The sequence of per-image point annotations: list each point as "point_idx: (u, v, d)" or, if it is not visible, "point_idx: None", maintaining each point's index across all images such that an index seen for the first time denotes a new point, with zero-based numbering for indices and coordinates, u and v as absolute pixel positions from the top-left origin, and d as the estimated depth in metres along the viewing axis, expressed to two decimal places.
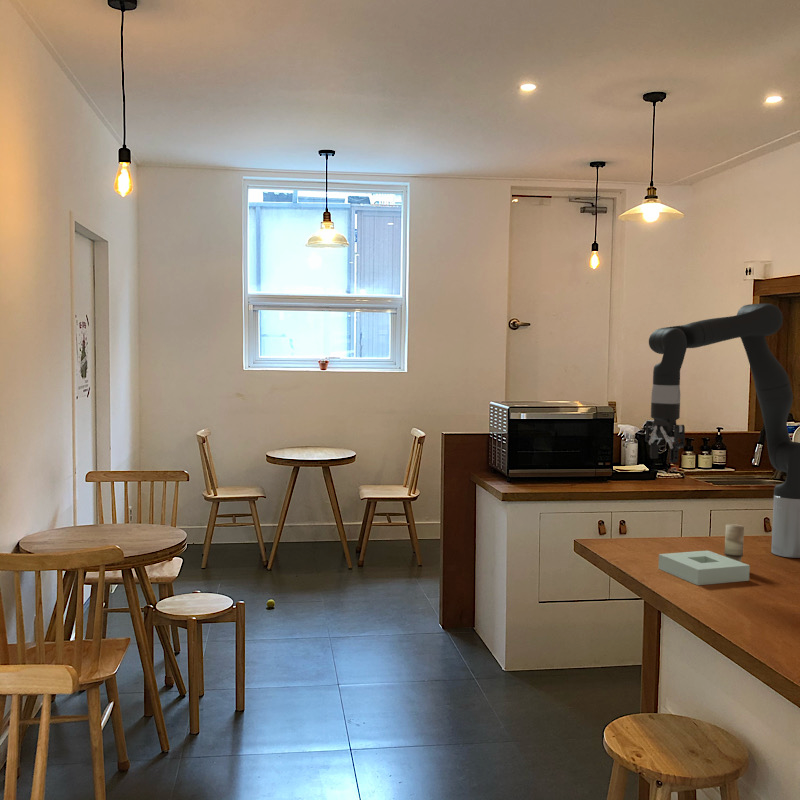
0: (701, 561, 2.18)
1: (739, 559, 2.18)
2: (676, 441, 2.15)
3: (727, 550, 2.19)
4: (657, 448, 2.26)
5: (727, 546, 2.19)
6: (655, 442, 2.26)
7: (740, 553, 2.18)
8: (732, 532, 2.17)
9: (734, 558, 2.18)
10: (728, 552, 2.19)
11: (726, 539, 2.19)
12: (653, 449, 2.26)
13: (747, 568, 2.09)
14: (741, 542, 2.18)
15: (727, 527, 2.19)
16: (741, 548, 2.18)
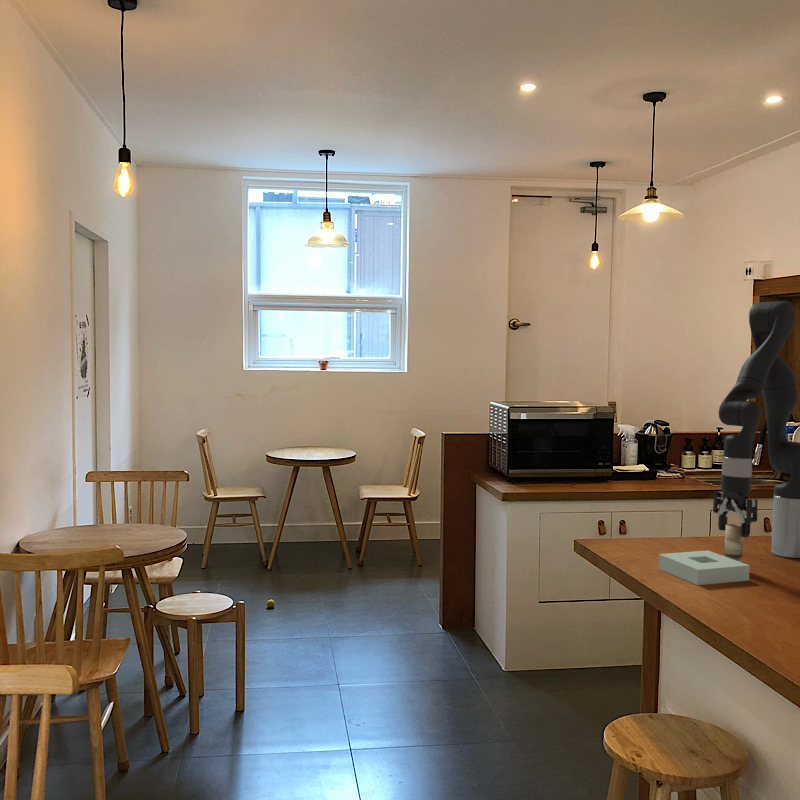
0: (701, 561, 2.18)
1: (739, 559, 2.18)
2: (749, 516, 2.12)
3: (727, 550, 2.19)
4: (726, 520, 2.23)
5: (727, 546, 2.19)
6: (724, 514, 2.23)
7: (740, 553, 2.18)
8: (732, 532, 2.17)
9: (734, 558, 2.18)
10: (728, 552, 2.19)
11: (726, 539, 2.19)
12: (722, 521, 2.23)
13: (747, 568, 2.09)
14: (741, 542, 2.18)
15: (727, 527, 2.19)
16: (741, 548, 2.18)
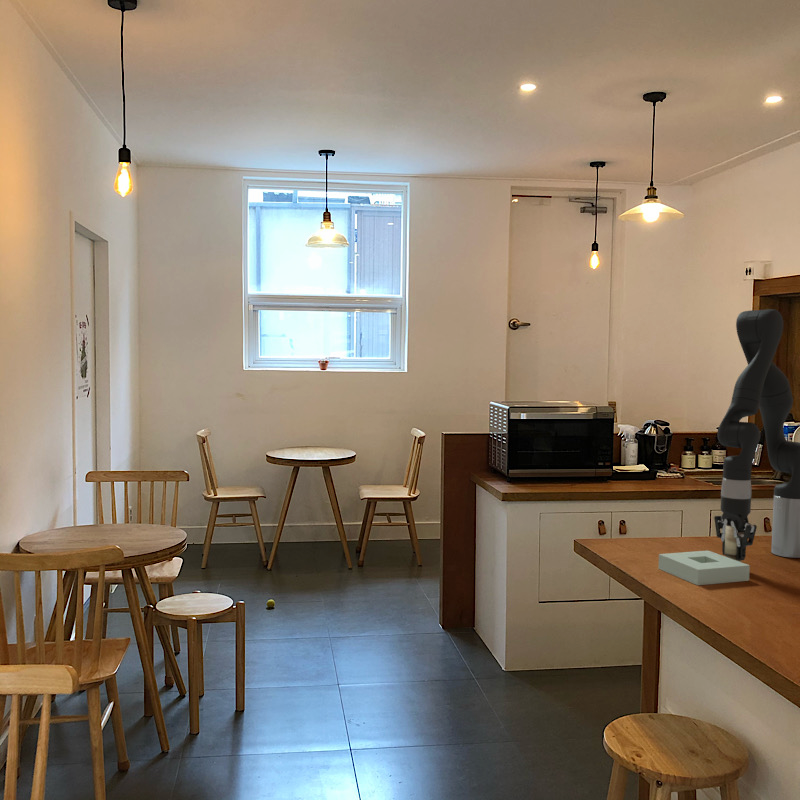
0: (701, 561, 2.18)
1: None
2: (745, 540, 2.14)
3: (727, 550, 2.19)
4: None
5: (727, 546, 2.19)
6: None
7: None
8: (732, 532, 2.17)
9: (734, 558, 2.18)
10: (728, 552, 2.19)
11: (726, 539, 2.19)
12: None
13: (747, 568, 2.09)
14: None
15: (727, 527, 2.19)
16: None
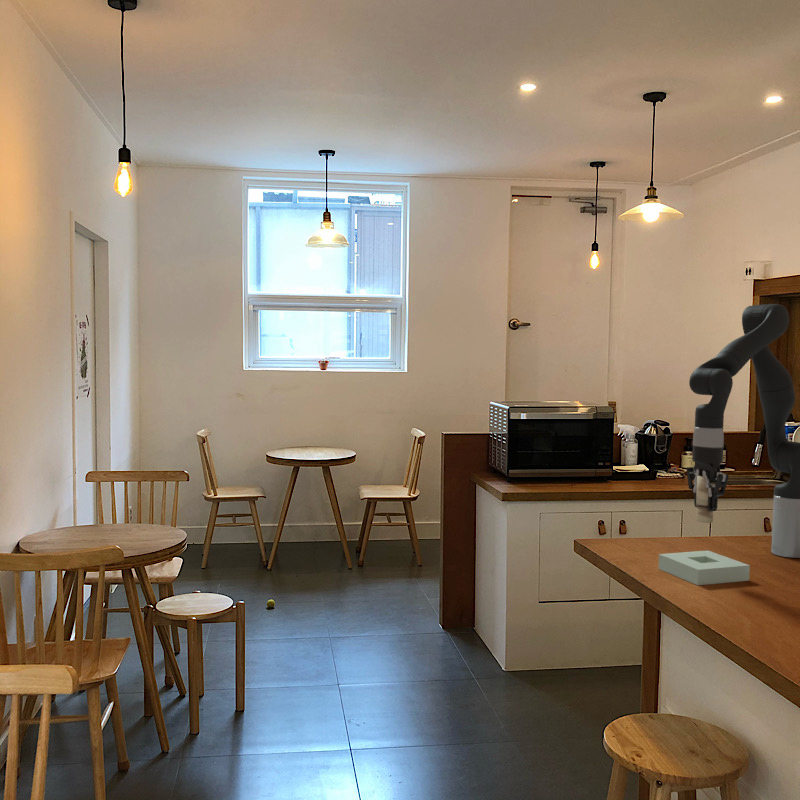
0: (701, 561, 2.18)
1: None
2: (716, 490, 2.08)
3: (698, 500, 2.12)
4: None
5: (698, 497, 2.12)
6: None
7: None
8: (704, 482, 2.11)
9: (705, 509, 2.12)
10: (699, 503, 2.12)
11: (697, 490, 2.13)
12: None
13: (747, 568, 2.09)
14: None
15: (698, 477, 2.12)
16: None
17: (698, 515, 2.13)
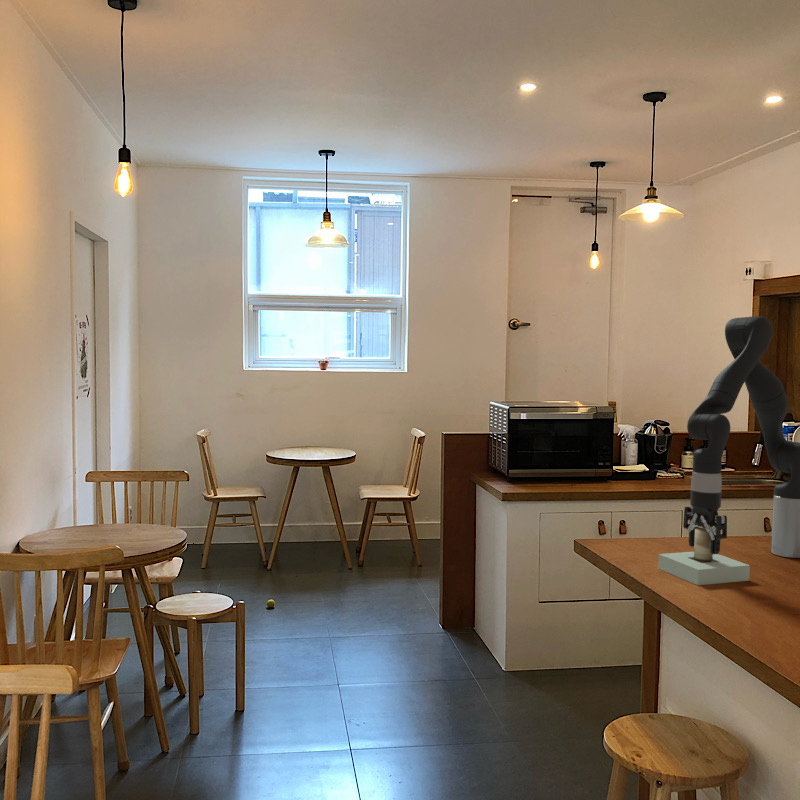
0: None
1: None
2: (718, 533, 2.07)
3: (696, 554, 2.13)
4: None
5: (696, 550, 2.13)
6: (694, 529, 2.18)
7: (709, 558, 2.12)
8: (701, 536, 2.12)
9: None
10: (697, 557, 2.13)
11: (695, 543, 2.14)
12: (692, 537, 2.17)
13: (747, 568, 2.09)
14: (710, 546, 2.12)
15: (696, 531, 2.13)
16: None
17: None
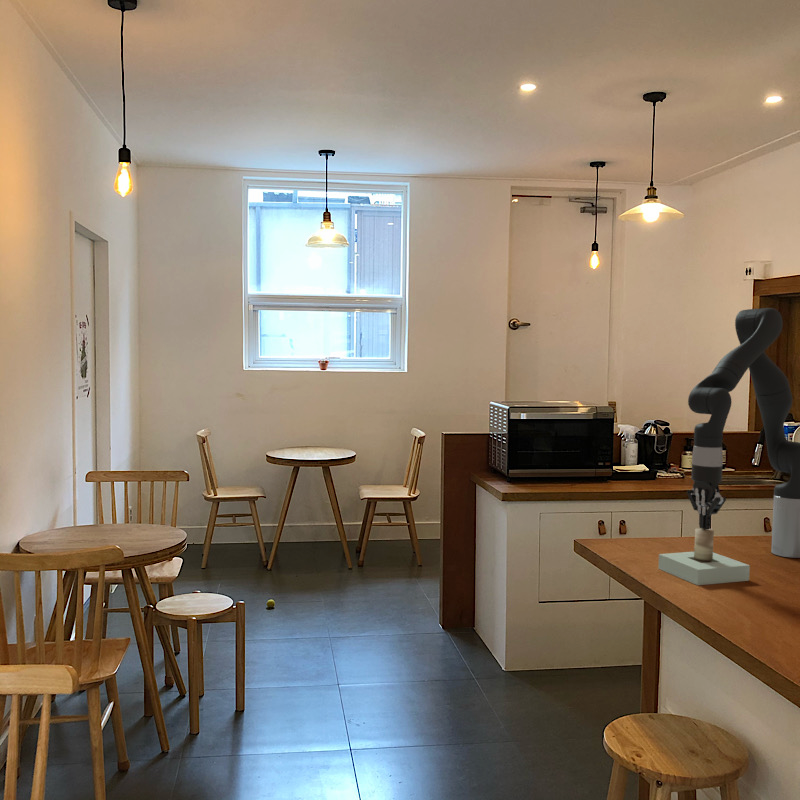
0: None
1: None
2: (710, 510, 2.10)
3: (696, 554, 2.13)
4: None
5: (696, 550, 2.13)
6: None
7: (710, 558, 2.12)
8: (702, 536, 2.12)
9: None
10: (697, 557, 2.13)
11: (695, 543, 2.14)
12: None
13: (747, 568, 2.09)
14: (710, 546, 2.12)
15: (696, 531, 2.13)
16: (711, 553, 2.12)
17: None
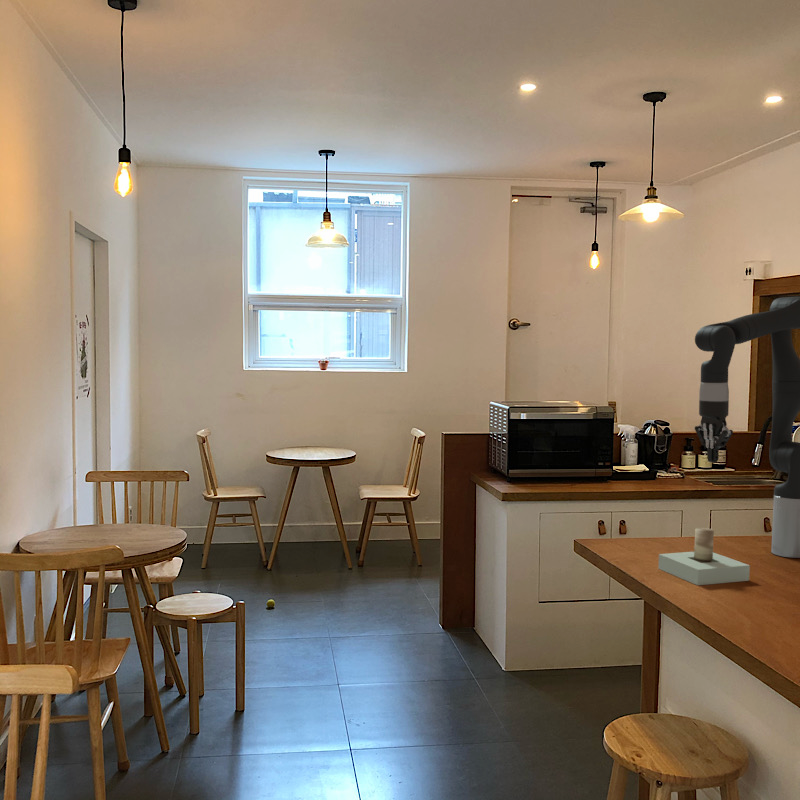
0: None
1: None
2: (718, 443, 2.19)
3: (696, 554, 2.13)
4: None
5: (696, 550, 2.13)
6: None
7: (710, 558, 2.12)
8: (702, 536, 2.12)
9: None
10: (697, 557, 2.13)
11: (695, 543, 2.14)
12: None
13: (747, 568, 2.09)
14: (710, 546, 2.12)
15: (696, 531, 2.13)
16: (711, 553, 2.12)
17: None
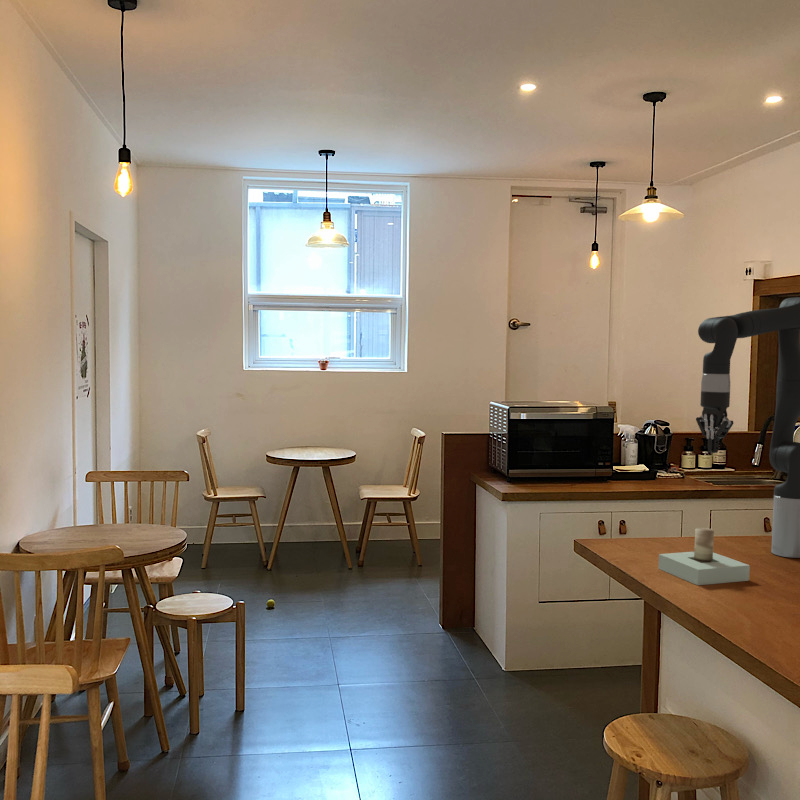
0: None
1: None
2: (718, 433, 2.21)
3: (696, 554, 2.13)
4: None
5: (696, 550, 2.13)
6: None
7: (710, 558, 2.12)
8: (702, 536, 2.12)
9: None
10: (697, 557, 2.13)
11: (695, 543, 2.14)
12: None
13: (747, 568, 2.09)
14: (710, 546, 2.12)
15: (696, 531, 2.13)
16: (711, 553, 2.12)
17: None
